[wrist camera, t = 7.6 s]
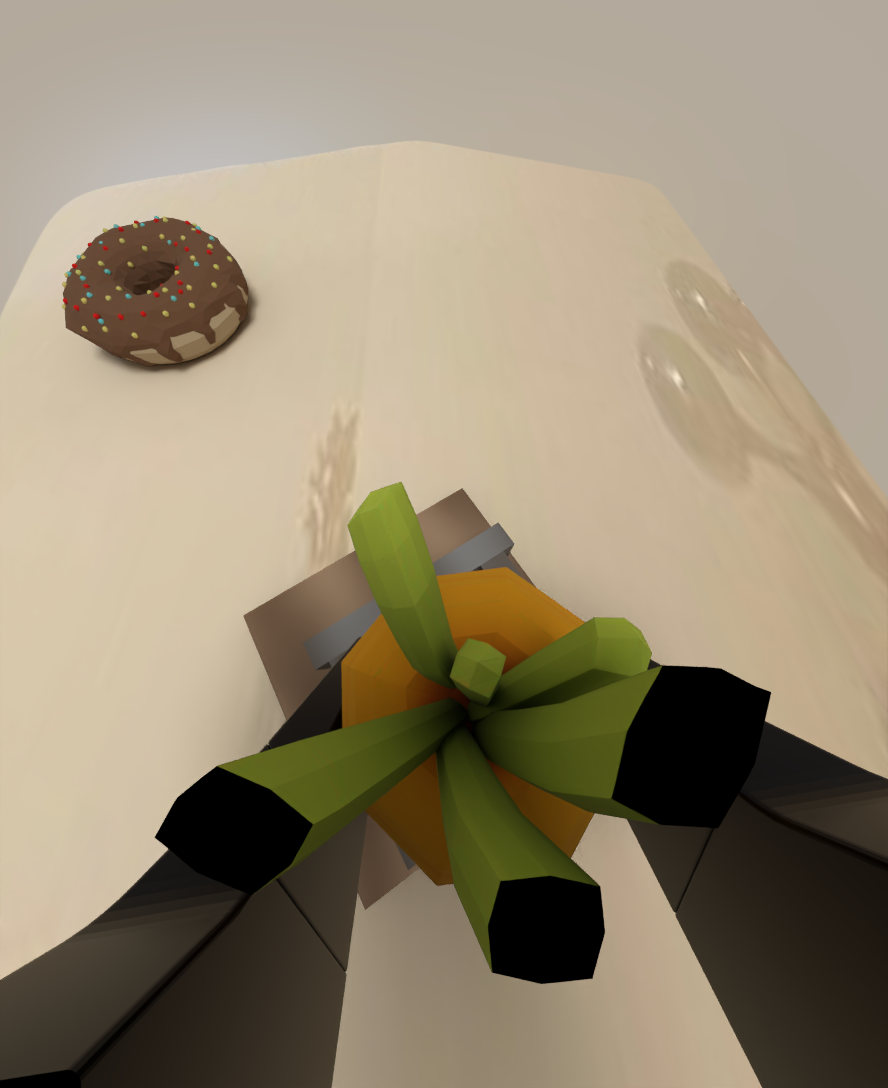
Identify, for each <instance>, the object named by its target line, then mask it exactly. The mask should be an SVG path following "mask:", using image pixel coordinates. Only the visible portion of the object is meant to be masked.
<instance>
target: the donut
mask: <svg viewBox="0 0 888 1088" xmlns="http://www.w3.org/2000/svg"><path fill="white" fill-rule="evenodd" d="M154 218H155V219H154V220H151V221H146V222H141V223H139V222H138V221H134V224H131V225H127V226H122V227H119V226H118V225H115V224H114V228H112V229H110V230H107V229H105V228H104V229H103V232H104V233H103V234H101V235H99V236H98V237H96V238H95V239H94V240H93V242H92V243H88V246H89V247H88V248H87V249H86V251H85V252H84V253H82V254H81V255H82V256H80V255H77V259H78V261H77V262H76V263H75V264H72V267H73V268H72V269H71V270H70V271H69V272H67V273H65V277H66V278H67V282H66V283H65V282H63V283H62V285H63V287H65V289H64V292H63V296H64V299H63V302H64V303H65V304H64V305H62V307H63V309H65V320H66V328H67V329H69V330H71V331H73V332H74V333H76V334H78V335H80V336H81V337H83V338H85V339H87V340H89V341H90V342H92V343H94V344H96V345H98V346H99V347H101V348H103V349H104V350H106V351H108V352H109V353H111V354H113V355H116V356H118V357H122V358H125V359H127V360H131V361H135V362H138V363H141V364H143V365H146V366H153V365H156V364H173V363H180V362H184V361H189V360H193V359H196V358H198V357H200V356H202V355H205V354H207V353H209V352H211V351H213V350H214V349H216V348H217V347H219V346H220V345H222V344H223V343H224V342H225V341H226V340H227V339H228V338H229V337H230V336H231V335H232V334H233V333H234V332H235V331H236V329H237V327H238V326H239V324H240V322H241V321H242V320H244V319H245V317H246V315H247V314H248V311H247V301H248V287H247V283H246V280H245V278H244V275H243V273H242V270H241V268H240V266H239V265H238V263H237V261H236V260H235V259H234V257H233V256H232V255H231V254H230V253H229V252H228V251H227V249H226V248H225V247H224V246H223V245H222V244H221V243H220V242H219V240H218V238H216V237H214V236H212V235H210V234H208V233H206V232H204V231H202V230H201V228H200V227H199V226H197V225H196V224H195V223H193V224H190V222H188V221H181V220H178V219H174V218H166V217H162V218H161V219H160V218H159V217H158V216H155V217H154Z"/></svg>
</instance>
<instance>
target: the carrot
mask: <svg viewBox="0 0 888 1088" xmlns="http://www.w3.org/2000/svg"><path fill="white" fill-rule="evenodd" d="M348 528H349V531H350V535H351V538H352V541H353V544H354V547H355V551H356V554H357V557H358V560H359V563H360V565H361V568H362V570H363V572H364V575H365V577H366V579H367V582H368V584H369V587H370V589H371V591H372V594H373V596H374V598H375V601H376V603H377V605H378V607H379V609H380V611H381V614H380V616H379V617H378V618H377V619H376V620H375V622H374V623H373V624H372V625H371V626H370V628H369V629H368V630H367V631H366V633H365V634H364V635H363V636H362V637H361V639H360V640H359V641H358V642H357V643H356V645H355V646H354V647H353V648H352V650H351V651H350V652H349V653H348V654H347V656H346V657H345V658H344V659H343V660H342V662H341V670H342V729H339V730H335V731H332V732H328V733H325V734H321V735H317V736H314V737H310V738H307V739H303V740H300V741H297V742H293V743H290V744H287V745H284V746H280V747H277V748H274V749H271V750H267V751H264V752H261V753H258V754H254V755H251V756H248V757H245V758H241V759H238V760H235V761H232V762H228V763H225V764H222V765H219V766H216V767H215V768H214V769H212V770H211V771H210V772H208V773H207V774H206V775H204V776H203V777H202V778H201V779H199V780H198V781H197V782H196V783H195V784H193V785H192V786H191V787H190V788H188V789H187V790H186V791H185V792H184V793H182V794H181V795H180V796H179V797H178V798H177V799H176V801H175V802H174V804H173V805H172V807H171V809H170V811H169V813H168V814H167V816H166V818H165V820H164V822H163V823H162V825H161V827H160V829H159V831H158V832H157V834H156V836H155V838H156V839H157V840H158V841H160V842H161V843H162V844H164V845H165V846H166V847H167V848H168V849H169V850H171V851H172V852H173V853H174V854H175V855H176V856H177V857H179V858H180V859H181V860H182V861H183V862H184V863H186V864H187V865H188V866H189V867H191V868H192V869H193V870H194V871H195V872H197V873H199V874H201V875H203V876H206V877H208V878H211V879H213V880H215V881H218V882H220V883H223V884H225V885H227V886H230V887H232V888H235V889H237V890H239V891H242V892H244V893H247V894H249V895H253V894H255V893H256V892H258V891H259V890H261V889H262V888H263V887H265V886H266V885H268V884H269V883H271V882H272V881H274V880H275V879H277V878H278V877H280V876H281V875H283V874H284V873H286V872H287V871H289V870H290V869H292V868H293V867H295V866H296V865H298V864H299V863H300V862H301V861H303V860H304V859H305V858H306V857H308V856H309V855H310V854H311V853H313V852H314V851H315V850H316V849H318V848H319V847H320V846H321V845H323V844H324V843H325V842H326V841H328V840H329V839H330V838H331V837H333V836H334V835H335V834H336V833H337V832H339V831H340V830H341V829H342V828H344V827H345V826H346V825H347V824H349V823H350V822H351V821H352V820H354V819H355V818H356V817H357V816H359V815H360V814H361V813H362V812H364V811H365V812H366V813H367V814H368V815H369V816H370V817H371V818H372V819H373V820H374V821H375V822H376V823H377V824H378V825H379V826H380V827H381V828H382V829H383V830H384V831H385V832H386V833H387V834H388V835H389V836H390V838H391V839H392V840H393V841H394V842H395V843H396V844H397V845H398V846H399V847H400V848H401V849H402V850H403V851H404V852H405V853H406V854H407V855H408V856H409V857H410V858H411V859H412V860H413V861H414V862H415V863H416V864H417V865H418V866H419V868H420V869H421V870H422V871H423V872H424V873H425V874H426V875H427V876H428V877H429V878H430V879H431V880H432V881H433V882H434V883H435V884H436V885H437V886H439V885H446V884H453V883H454V887H455V889H456V891H457V894H458V896H459V898H460V900H461V903H462V905H463V907H464V910H465V912H466V914H467V916H468V919H469V921H470V923H471V926H472V928H473V930H474V932H475V935H476V937H477V939H478V942H479V944H480V946H481V948H482V951H483V953H484V955H485V958H486V960H487V962H488V964H489V967H490V969H491V971H492V973H496V974H501V975H505V976H509V977H514V978H518V979H522V980H527V981H531V982H535V983H540V984H545V983H556V982H565V981H574V980H583V979H592V978H593V974H594V970H595V967H596V963H597V959H598V956H599V952H600V949H601V945H602V941H603V938H604V934H605V928H604V918H603V908H602V899H601V889H600V886H599V885H598V884H597V883H596V882H595V881H594V880H593V879H592V878H591V877H590V876H589V875H588V874H587V873H586V872H585V871H584V870H582V869H581V868H580V867H579V866H578V865H577V864H576V863H575V862H574V861H573V860H572V859H571V857H572V855H573V853H574V851H575V849H576V847H577V845H578V844H579V842H580V840H581V838H582V836H583V834H584V832H585V830H586V828H587V826H588V824H589V823H590V821H591V819H592V817H593V815H594V813H598V814H603V815H608V816H614V817H619V818H625V819H630V820H636V821H641V822H647V823H652V824H658V825H670V826H688V827H706V828H719V826H720V825H721V823H722V821H723V819H724V818H725V816H726V814H727V813H728V811H729V809H730V807H731V806H732V804H733V802H734V801H735V799H736V797H737V795H738V794H739V792H740V790H741V789H742V787H743V785H744V783H745V782H746V780H747V778H748V776H749V774H750V772H751V771H752V769H753V767H754V765H755V762H756V757H757V753H758V749H759V744H760V740H761V735H762V731H763V726H764V722H765V718H766V713H767V709H768V704H769V700H770V695H771V692H769V691H767V690H764V689H761V688H758V687H756V686H754V685H752V684H750V683H748V682H746V681H744V680H742V679H740V678H738V677H736V676H734V675H732V674H730V673H728V672H727V671H725V670H723V669H720V668H710V667H689V666H663V665H662V666H659V667H656V668H653V669H650V670H647V668H648V665H649V662H650V658H651V655H652V652H651V650H650V648H649V646H648V644H647V642H646V640H645V638H644V636H643V634H642V632H641V631H640V630H639V629H638V628H637V627H635V626H634V625H633V624H631V623H630V622H629V621H628V620H626V619H625V618H599V617H594V618H593V619H591V620H589V621H588V622H586V623H585V622H584V621H582V620H581V619H579V618H578V617H577V616H575V615H574V614H572V613H571V612H570V611H568V610H567V609H565V608H564V607H562V606H561V605H560V604H558V603H557V602H555V601H554V600H553V599H551V598H550V597H548V596H547V595H546V594H544V593H543V592H541V591H540V590H538V589H537V588H536V587H534V586H533V585H531V584H530V583H529V582H527V581H526V580H524V579H523V578H521V577H520V576H519V575H517V574H516V573H514V572H513V571H512V570H510V569H509V568H507V567H501V568H494V569H486V570H478V571H470V572H462V573H455V574H447V575H439V576H436V573H435V569H434V566H433V563H432V560H431V557H430V554H429V551H428V548H427V545H426V542H425V539H424V536H423V533H422V530H421V527H420V524H419V521H418V518H417V516H416V514H415V512H414V509H413V507H412V505H411V502H410V500H409V498H408V495H407V493H406V491H405V489H404V486H403V484H402V482H399V483H396V484H393V485H390V486H386V487H384V488H381V489H378V490H376V491H373V492H371V493H370V494H369V495H368V497H367V498H366V499H365V501H364V502H363V503H362V505H361V506H360V507H359V509H358V510H357V512H356V513H355V515H354V516H353V518H352V519H351V521H350V522H349V524H348Z"/></svg>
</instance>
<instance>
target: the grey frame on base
mask: <svg viewBox="0 0 888 1088" xmlns="http://www.w3.org/2000/svg"><path fill="white" fill-rule="evenodd" d="M416 516H417V518H418V521H419V524H420V527H421V530H422V533H423V536H424V539H425V542H426V545H427V548H428V551H429V554H430V557H431V560H432V563H433V566H434V569H435V573H436V576H439V575H447V574H455V573H462V572H470V571H478V570H486V569H494V568H501V567H507V568H509V569H510V570H512V571H513V572H514V573H516V574H517V575H519V576H520V577H521V578H523V579H524V580H526V581H527V582H529V583H530V584H531V585H533V586H534V587H535V585H534V584H533V583H532V581H531V580H530V579H529V577H528V576H527V575H526V573H525V572H524V571H523V569H522V568H521V567H520V565H519V564H518V562H517V561H516V560H515V558H514V557H513V556H512V554H511V553H510V551H511V549H512V547H513V546H514V543H513V541H512V540H511V539H510V537H509V536H508V535H507V533H506V532H505V531H504V529H503V528H502V527H501V525H500V524H499V523H497V524H495V525H494V526H492V527H491V526H490V525H489V523H488V522H487V521H486V519H485V518H484V517H483V515H482V514H481V513H480V511H479V510H478V509H477V507H476V506H475V505H474V503H473V502H472V501H471V499H470V498H469V497H468V495H467V494H466V493H465V491H464V490H463V489H460V490H458V491H457V492H455V493H453V494H452V495H450V496H448V497H446V498H445V499H443V500H441V501H440V502H438V503H436V504H434V505H433V506H431V507H429V508H428V509H426V510H424V511H422V512H421V513H419V514H417V515H416ZM380 614H381V611H380V609H379V607H378V605H377V603H376V601H375V598H374V596H373V594H372V591H371V589H370V587H369V584H368V582H367V579H366V577H365V575H364V572H363V570H362V568H361V565H360V563H359V560H358V557H357V554H356V551H354V552H352V553H350V554H348V555H347V556H345V557H343V558H342V559H340V560H338V561H336V562H335V563H333V564H331V565H330V566H328V567H326V568H324V569H323V570H321V571H319V572H318V573H316V574H314V575H312V576H311V577H309V578H307V579H305V580H304V581H302V582H300V583H299V584H297V585H295V586H293V587H292V588H290V589H288V590H287V591H285V592H283V593H281V594H280V595H278V596H276V597H275V598H273V599H271V600H269V601H268V602H266V603H264V604H263V605H261V606H259V607H257V608H256V609H254V610H252V611H250V612H249V613H247V614H245V615H244V619H245V621H246V623H247V626H248V628H249V631H250V633H251V635H252V638H253V640H254V643H255V645H256V648H257V650H258V652H259V655H260V657H261V660H262V662H263V664H264V667H265V669H266V672H267V674H268V676H269V679H270V681H271V684H272V686H273V689H274V691H275V693H276V696H277V698H278V701H279V703H280V705H281V708H282V710H283V713H284V715H285V717H286V720H288V719H289V717H290V716H291V715H292V714H293V713H294V712H295V710H296V709H297V708H298V707H299V706H300V705H301V703H302V702H303V701H304V700H305V699H306V698H307V696H308V695H309V694H310V693H311V692H312V691H313V689H314V688H315V687H316V686H317V685H318V684H319V682H320V681H321V680H322V679H323V678H324V677H325V675H326V674H327V673H328V672H329V671H330V670H331V668H332V667H333V666H334V665H335V664H336V663H337V661H338V660H339V659H340V658H341V657H342V656H343V654H344V653H345V652H346V651H347V650H348V649H349V647H350V646H351V645H352V644H353V643H354V642H355V640H356V639H357V638H358V637H360V636H363V635H364V634H365V633H366V631H367V630H368V629H369V628H370V626H371V625H372V624H373V623H374V622H375V620H376V619H377V618H378V617H379V616H380ZM418 868H419V866H418V865H417V864H416V863H415V862H414V861H413V860H412V859H411V858H410V857H409V856H408V855H407V854H406V853H405V852H404V851H403V850H402V849H401V848H400V847H399V846H398V845H397V844H396V843H395V842H394V841H393V840H392V839H391V838H390V836H389V835H388V834H387V833H386V832H385V831H384V830H383V829H382V828H381V827H380V826H379V825H378V824H377V823H376V822H375V821H374V820H373V819H372V818H371V817H370V816H369V815H368V816H367V824H366V831H365V839H364V846H363V854H362V861H361V869H360V876H359V884H358V894H359V896H360V898H361V901H362V903H363V906H364V908H365V910H366V909H367V908H368V907H370V906H371V905H372V904H373V903H375V902H376V901H377V900H378V899H380V898H381V897H382V896H384V895H385V894H386V893H387V892H389V891H390V890H391V889H393V888H394V887H395V886H396V885H398V884H399V883H400V882H401V881H403V880H404V879H405V878H407V877H408V876H409V875H410V874H412V873H413V872H414V871H416V870H417V869H418Z"/></svg>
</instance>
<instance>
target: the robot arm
mask: <svg viewBox="0 0 888 1088" xmlns="http://www.w3.org/2000/svg"><path fill="white" fill-rule="evenodd" d="M585 623H586V622H585ZM361 637H362V636H360V637H358V638H357V639H356V640H355V642H354V643H353V644H352V645H351V646H350V647H349V649H348V650H347V651H346V652H345V653H344V654H343V656H342V657H341V658H340V659H339V660H338V661H337V663H336V664H335V665H334V666H333V667H332V668H331V670H330V671H329V672H328V673H327V674H326V675H325V677H324V678H323V679H322V680H321V681H320V682H319V684H318V685H317V686H316V687H315V688H314V689H313V691H312V692H311V693H310V694H309V695H308V696H307V698H306V699H305V700H304V701H303V702H302V703H301V705H300V706H299V707H298V708H297V709H296V710H295V712H294V713H293V714H292V715H291V716H290V717H289V719H288V720H287V721H286V722H285V723H284V724H283V726H282V727H281V728H280V729H279V730H278V731H277V733H276V734H275V735H274V736H273V737H272V738H271V740H270V741H269V743H268V744H269V745H265V746H264V748H263V749H262V750H261V751H260V752H259V753H261V752H264V751H267V750H271V749H274V748H277V747H280V746H284V745H287V744H290V743H293V742H297V741H300V740H303V739H307V738H310V737H314V736H317V735H321V734H325V733H328V732H332V731H335V730H339V729H342V670H341V662H342V660H343V659H344V658H345V657H346V656H347V654H348V653H349V652H350V651H351V650H352V648H353V647H354V646H355V645H356V643H357V642H358V641H359V640H360V639H361ZM659 666H662V665H660V664H658V663H656V662H655V661H653V660H651V659H650V662H649V665H648V668H647V670H650V669H653V668H656V667H659ZM367 816H368V814H367V813H366V812H365V811H364V812H362V813H361V814H360V815H359V816H357V817H356V818H355V819H354V820H352V821H351V822H350V823H349V824H347V825H346V826H345V827H344V828H342V829H341V830H340V831H339V832H337V833H336V834H335V835H334V836H333V837H331V838H330V839H329V840H328V841H326V842H325V843H324V844H323V845H321V846H320V847H319V848H318V849H316V850H315V851H314V852H313V853H311V854H310V855H309V856H308V857H306V858H305V859H304V860H303V861H301V862H300V863H299V864H298V865H296V866H295V867H293V868H292V869H290V870H289V871H287V872H286V873H284V874H283V875H281V876H280V877H278V878H277V879H275V880H274V881H272V882H271V883H269V884H268V885H266V886H265V887H263V888H262V889H261V890H259V891H258V892H256V893H255V894H253V895H249V894H247V893H244V892H242V891H239V890H237V889H235V888H232V887H230V886H227V885H225V884H223V883H220V882H218V881H215V880H213V879H211V878H208V877H206V876H203V875H201V874H199V873H197V872H195V871H194V870H193V869H192V868H191V867H189V866H188V865H187V864H186V863H184V862H183V861H182V860H181V859H180V858H179V857H177V856H176V855H175V854H174V853H173V852H172V851H171V850H169V849H168V850H167V851H166V852H165V853H164V854H163V855H162V856H161V857H160V858H159V860H158V861H157V862H156V863H155V864H154V865H153V866H152V867H151V868H150V869H149V870H148V871H147V872H146V873H145V874H144V875H143V876H142V877H141V878H140V879H139V880H138V881H137V882H136V883H135V884H134V885H133V886H132V887H131V888H130V889H129V890H128V891H127V892H126V893H125V894H124V895H123V896H122V897H121V898H120V899H119V900H117V901H116V902H115V903H114V904H113V905H112V906H111V907H110V908H108V909H107V910H106V911H105V912H104V913H103V914H101V915H100V916H99V917H98V918H96V919H95V920H94V921H93V922H91V923H90V924H89V925H88V926H86V927H85V928H83V929H82V930H80V931H79V932H78V933H76V934H75V935H73V936H72V937H70V938H69V939H67V940H66V941H64V942H62V943H61V944H59V945H58V946H56V947H54V948H53V949H51V950H49V951H48V952H46V953H44V954H43V955H41V956H39V957H38V958H36V959H34V960H33V961H31V962H29V963H28V964H26V965H24V966H23V967H21V968H19V969H18V970H16V971H14V972H13V973H11V974H9V975H8V976H6V977H4V978H3V979H1V980H0V1088H331V1087H332V1080H333V1072H334V1065H335V1057H336V1050H337V1042H338V1035H339V1027H340V1020H341V1012H342V1005H343V997H344V990H345V982H346V973H345V972H346V970H347V966H348V958H349V951H350V943H351V936H352V928H353V921H354V914H355V906H356V899H357V891H358V884H359V876H360V869H361V861H362V854H363V846H364V839H365V831H366V824H367ZM627 820H628V822H629V824H630V826H631V828H632V830H633V832H634V834H635V836H636V838H637V840H638V842H639V844H640V846H641V848H642V850H643V852H644V854H645V856H646V858H647V860H648V862H649V864H650V866H651V868H652V870H653V872H654V874H655V876H656V878H657V880H658V882H659V884H660V886H661V888H662V890H663V892H664V894H665V896H666V898H667V900H668V902H669V904H670V906H671V907H672V909H673V911H674V912H675V913H676V918H677V920H678V922H679V924H680V926H681V928H682V930H683V932H684V934H685V936H686V938H687V940H688V942H689V944H690V946H691V948H692V950H693V952H694V953H695V955H696V957H697V959H698V961H699V963H700V965H701V967H702V969H703V971H704V973H705V975H706V977H707V979H708V981H709V983H710V985H711V987H712V989H713V991H714V993H715V995H716V997H717V999H718V1001H719V1003H720V1005H721V1007H722V1009H723V1011H724V1013H725V1015H726V1017H727V1019H728V1021H729V1023H730V1025H731V1027H732V1029H733V1031H734V1033H735V1035H736V1037H737V1039H738V1041H739V1043H740V1045H741V1047H742V1049H743V1051H744V1053H745V1054H746V1056H747V1058H748V1060H749V1062H750V1064H751V1066H752V1068H753V1070H754V1072H755V1074H756V1076H757V1078H758V1080H759V1082H760V1084H761V1086H762V1088H888V779H887V778H884V777H882V776H879V775H877V774H874V773H872V772H869V771H867V770H865V769H863V768H860V767H858V766H856V765H854V764H852V763H850V762H848V761H846V760H844V759H841V758H839V757H837V756H835V755H833V754H831V753H829V752H827V751H825V750H823V749H821V748H819V747H817V746H815V745H813V744H811V743H809V742H807V741H805V740H803V739H801V738H799V737H796V736H794V735H792V734H790V733H788V732H786V731H784V730H782V729H780V728H778V727H776V726H774V725H772V724H770V723H768V722H766V721H765V722H764V726H763V731H762V735H761V740H760V744H759V749H758V753H757V757H756V762H755V765H754V767H753V769H752V771H751V772H750V774H749V776H748V778H747V780H746V782H745V783H744V785H743V787H742V789H741V790H740V792H739V794H738V795H737V797H736V799H735V801H734V802H733V804H732V806H731V807H730V809H729V811H728V813H727V814H726V816H725V818H724V819H723V821H722V823H721V825H720V826H719V828H706V827H688V826H670V825H658V824H652V823H647V822H641V821H636V820H630V819H627Z"/></svg>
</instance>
